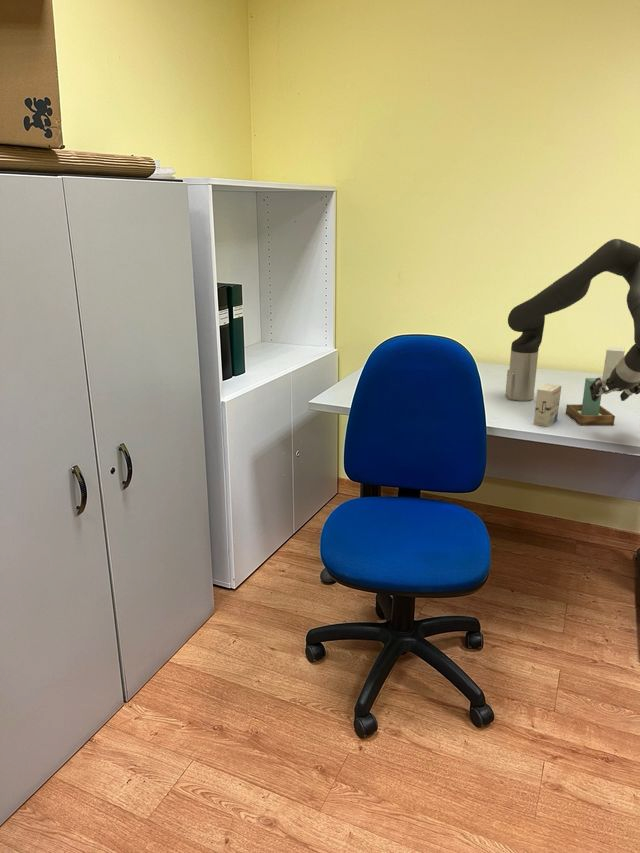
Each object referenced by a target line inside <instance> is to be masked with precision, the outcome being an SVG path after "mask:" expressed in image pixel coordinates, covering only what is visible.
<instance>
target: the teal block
mask: <svg viewBox="0 0 640 853" xmlns="http://www.w3.org/2000/svg"><path fill="white" fill-rule="evenodd" d="M597 378H598V377H586V378H585V379H584V380H585V381H584V388H583V394H582V395H583V396H582V402H581V403H582V410H581V414H582V415H599V409H600V406H601V402H602V401H601V400H602V395H600V397H599V398H598V399H597V401H593V400H592V398H591V392H590V388H589V387H590V386H591V385H592V383H593V382H594V381H595V380H596V379H597ZM599 390H600V392H601V391H602V388H601V389H599Z"/></svg>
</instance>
